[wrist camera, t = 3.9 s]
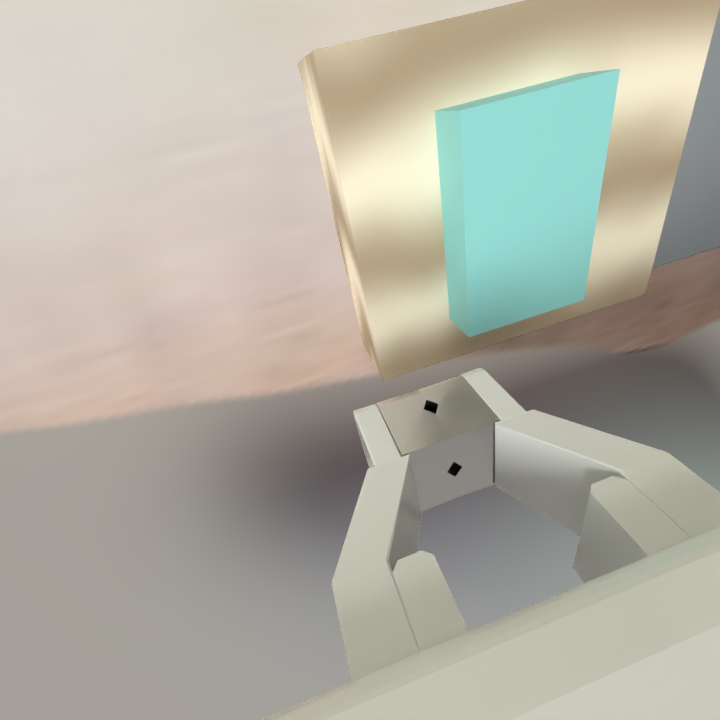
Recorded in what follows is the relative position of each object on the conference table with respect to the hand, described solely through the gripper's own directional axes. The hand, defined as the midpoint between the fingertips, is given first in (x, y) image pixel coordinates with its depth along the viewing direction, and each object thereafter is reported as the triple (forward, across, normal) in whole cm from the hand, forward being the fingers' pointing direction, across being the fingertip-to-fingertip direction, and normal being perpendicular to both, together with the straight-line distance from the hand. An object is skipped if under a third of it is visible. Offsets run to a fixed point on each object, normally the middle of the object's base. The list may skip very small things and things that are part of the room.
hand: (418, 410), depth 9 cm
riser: (+14, -9, 0) cm, 16 cm away
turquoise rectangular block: (+10, -8, 0) cm, 13 cm away
